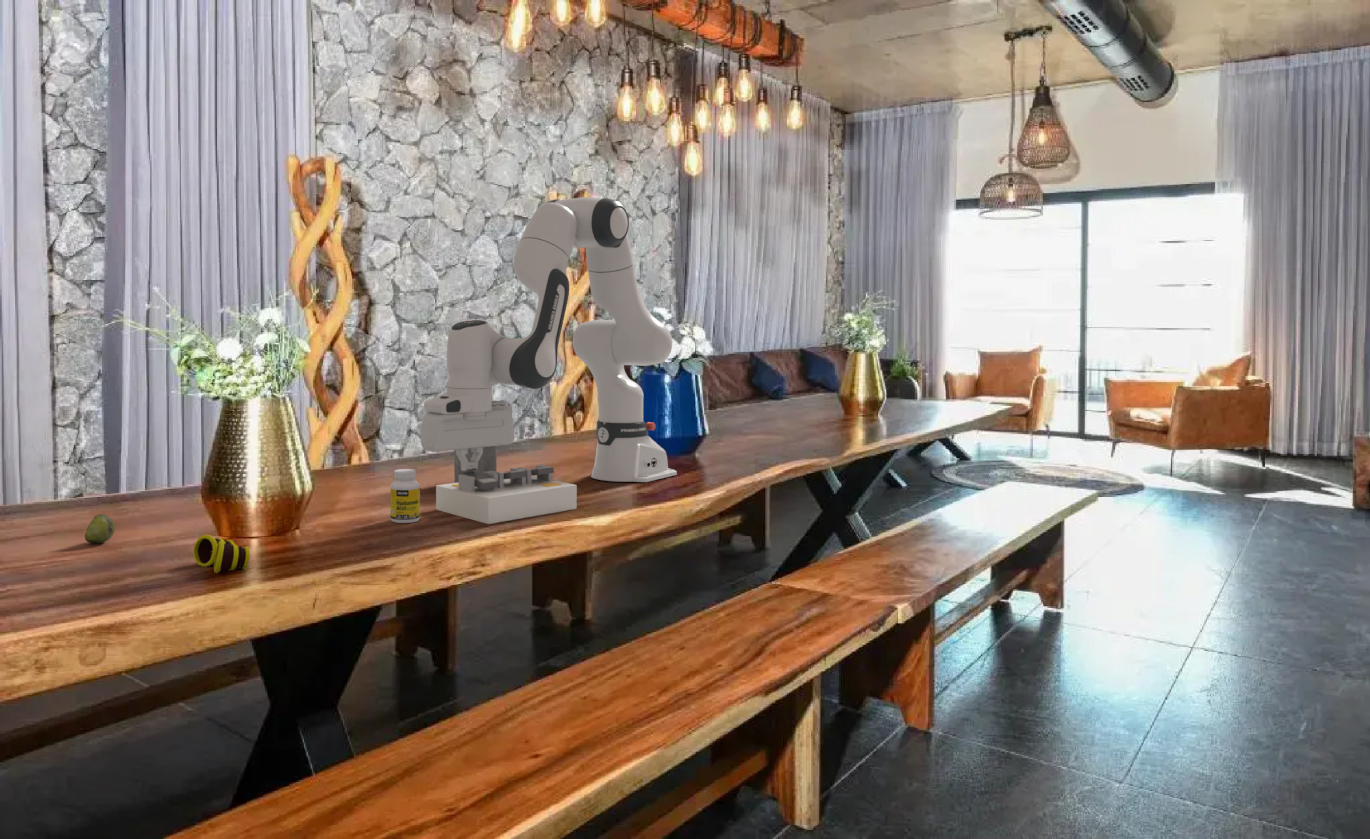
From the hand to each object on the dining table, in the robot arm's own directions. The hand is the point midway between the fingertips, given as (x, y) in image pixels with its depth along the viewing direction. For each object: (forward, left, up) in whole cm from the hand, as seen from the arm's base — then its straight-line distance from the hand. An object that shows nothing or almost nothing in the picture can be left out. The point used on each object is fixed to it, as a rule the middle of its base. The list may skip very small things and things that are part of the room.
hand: (469, 470), depth 192 cm
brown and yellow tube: (+52, +10, -9) cm, 54 cm away
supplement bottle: (+14, -1, -9) cm, 16 cm away
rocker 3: (-14, +3, -2) cm, 14 cm away
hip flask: (-16, -22, -9) cm, 29 cm away
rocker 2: (-7, +3, -2) cm, 8 cm away
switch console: (-7, +3, -9) cm, 12 cm away
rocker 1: (0, +3, -2) cm, 3 cm away
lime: (+61, -19, -9) cm, 64 cm away
